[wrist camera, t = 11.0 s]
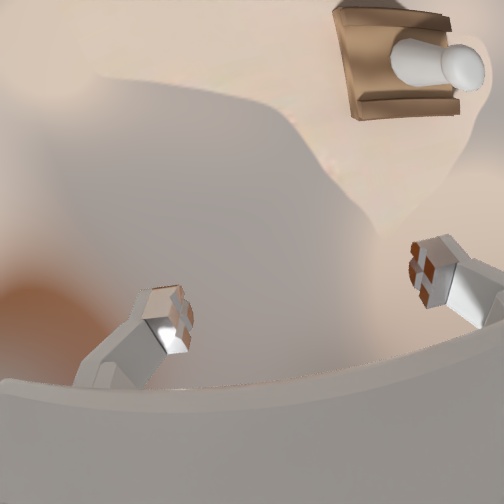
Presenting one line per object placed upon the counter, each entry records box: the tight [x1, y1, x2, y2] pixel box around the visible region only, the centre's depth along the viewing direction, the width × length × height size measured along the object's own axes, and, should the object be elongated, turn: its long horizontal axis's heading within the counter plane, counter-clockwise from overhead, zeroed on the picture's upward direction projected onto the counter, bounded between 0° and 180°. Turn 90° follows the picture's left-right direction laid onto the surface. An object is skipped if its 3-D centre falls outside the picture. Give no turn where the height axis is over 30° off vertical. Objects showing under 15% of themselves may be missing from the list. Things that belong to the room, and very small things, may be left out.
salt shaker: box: [389, 38, 485, 92], centre depth 21 cm, size 6×6×13 cm
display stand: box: [332, 7, 460, 121], centre depth 27 cm, size 14×14×4 cm
